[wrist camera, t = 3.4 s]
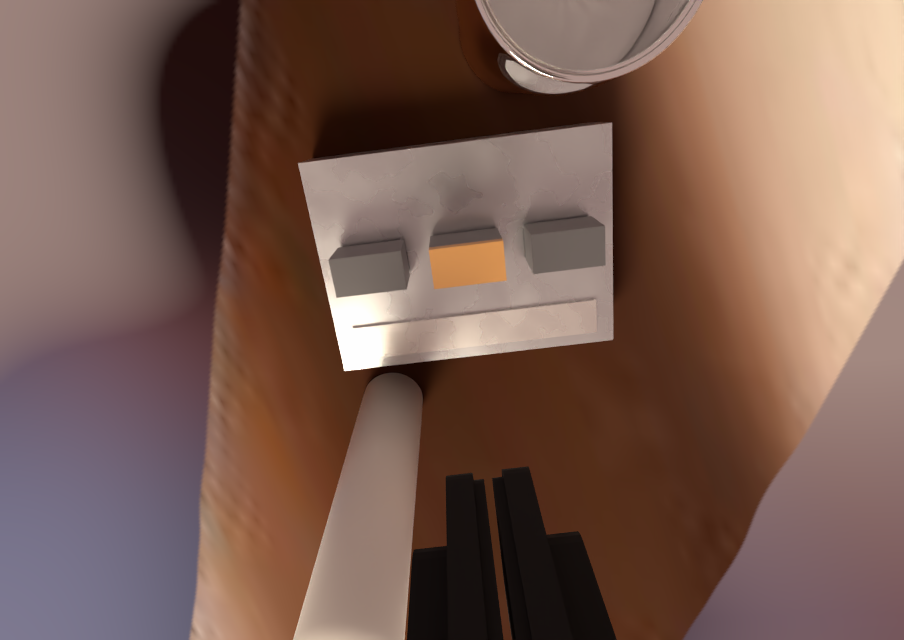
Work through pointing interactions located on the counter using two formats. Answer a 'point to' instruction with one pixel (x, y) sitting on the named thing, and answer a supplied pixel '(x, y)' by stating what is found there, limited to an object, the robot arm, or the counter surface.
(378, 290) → the grey rectangular box
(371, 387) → the post
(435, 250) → the paddle mid
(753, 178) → the counter surface
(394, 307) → the breaker panel
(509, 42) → the beer glass
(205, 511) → the counter surface
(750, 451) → the counter surface
